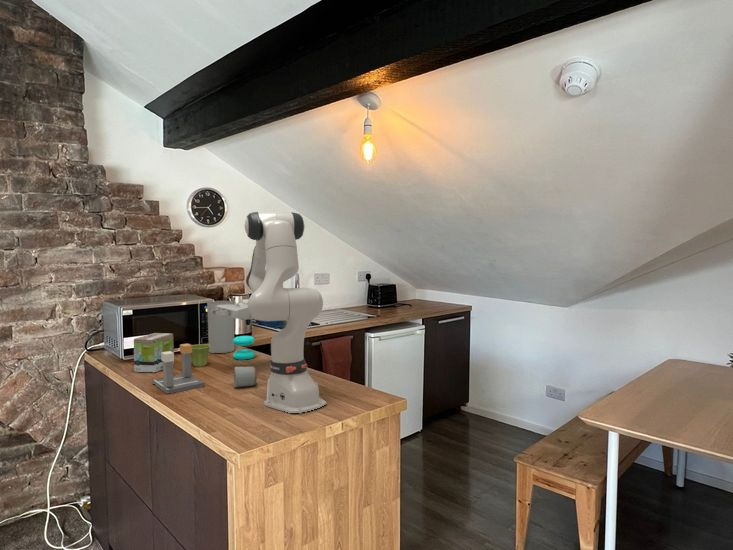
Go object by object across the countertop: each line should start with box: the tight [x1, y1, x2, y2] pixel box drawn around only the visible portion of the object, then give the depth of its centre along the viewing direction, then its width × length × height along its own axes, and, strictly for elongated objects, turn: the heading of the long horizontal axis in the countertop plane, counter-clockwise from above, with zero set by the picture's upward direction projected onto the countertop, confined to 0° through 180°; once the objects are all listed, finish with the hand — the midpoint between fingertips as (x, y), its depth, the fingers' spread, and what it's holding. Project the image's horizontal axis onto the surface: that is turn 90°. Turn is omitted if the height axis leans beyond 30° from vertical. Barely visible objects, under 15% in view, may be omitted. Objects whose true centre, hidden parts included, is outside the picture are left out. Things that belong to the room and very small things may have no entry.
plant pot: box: [191, 343, 210, 368], centre depth 215 cm, size 9×9×9 cm
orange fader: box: [179, 343, 193, 377], centre depth 192 cm, size 4×3×12 cm
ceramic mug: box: [233, 366, 258, 388], centre depth 185 cm, size 11×8×8 cm
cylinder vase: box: [206, 300, 236, 354], centre depth 242 cm, size 12×12×25 cm
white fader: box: [161, 351, 175, 387], centre depth 178 cm, size 4×3×12 cm
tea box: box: [133, 332, 175, 373], centre depth 210 cm, size 15×10×15 cm, turn 171°
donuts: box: [233, 335, 256, 361], centre depth 228 cm, size 10×10×10 cm
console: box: [151, 373, 206, 395], centre depth 186 cm, size 18×14×2 cm
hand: (214, 313), depth 198 cm, fingers open, 2 cm apart
